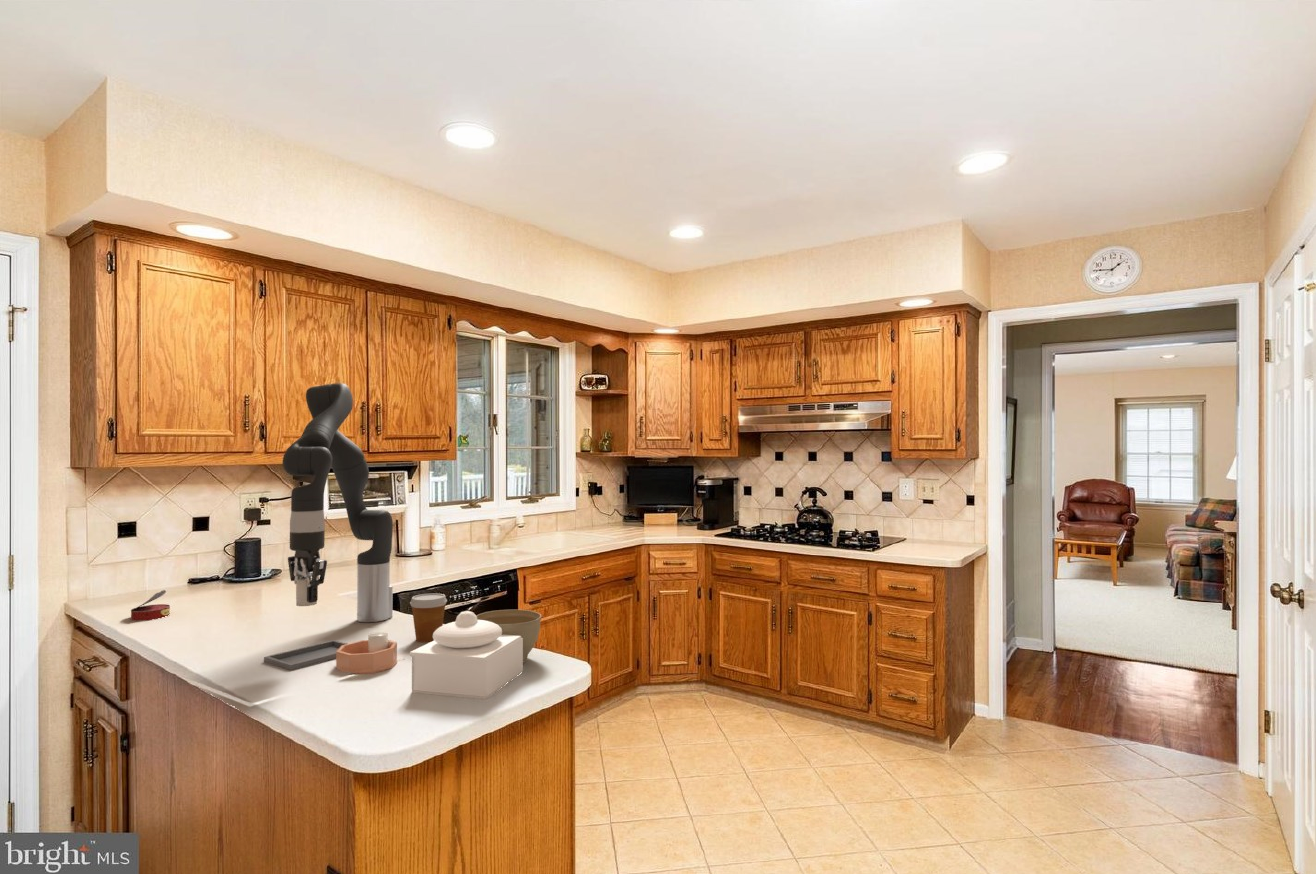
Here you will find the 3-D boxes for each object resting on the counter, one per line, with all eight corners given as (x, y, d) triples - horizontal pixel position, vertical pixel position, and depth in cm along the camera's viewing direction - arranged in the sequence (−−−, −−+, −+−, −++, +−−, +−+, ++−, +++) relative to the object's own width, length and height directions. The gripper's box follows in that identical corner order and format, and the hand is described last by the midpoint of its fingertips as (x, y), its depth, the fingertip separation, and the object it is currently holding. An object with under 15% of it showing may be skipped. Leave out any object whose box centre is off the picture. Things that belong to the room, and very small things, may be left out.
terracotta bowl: (375, 654, 176) (375, 636, 176) (408, 663, 169) (408, 644, 169) (325, 668, 165) (325, 649, 165) (358, 678, 158) (358, 658, 158)
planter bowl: (538, 670, 163) (538, 623, 163) (468, 672, 161) (468, 625, 162) (543, 650, 179) (543, 608, 179) (479, 652, 177) (479, 609, 178)
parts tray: (334, 646, 183) (334, 640, 183) (361, 654, 176) (361, 647, 176) (263, 664, 168) (263, 657, 168) (290, 673, 161) (290, 665, 162)
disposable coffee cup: (412, 648, 182) (412, 601, 182) (407, 639, 190) (407, 595, 190) (450, 643, 186) (450, 598, 186) (443, 635, 194) (443, 591, 195)
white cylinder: (380, 656, 172) (380, 631, 172) (391, 658, 170) (391, 633, 170) (364, 660, 168) (364, 635, 168) (375, 663, 166) (375, 638, 166)
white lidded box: (522, 673, 161) (522, 604, 161) (485, 701, 143) (485, 623, 144) (454, 668, 165) (454, 600, 165) (409, 694, 148) (409, 618, 148)
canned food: (147, 636, 213) (131, 610, 209) (131, 628, 218) (115, 603, 214) (184, 612, 222) (169, 587, 217) (168, 605, 227) (154, 581, 222)
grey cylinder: (310, 601, 171) (310, 577, 171) (320, 603, 168) (320, 578, 168) (292, 604, 167) (292, 579, 167) (302, 607, 165) (302, 581, 165)
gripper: (338, 529, 167) (338, 601, 167) (307, 526, 175) (306, 594, 175) (307, 532, 161) (306, 607, 160) (276, 529, 169) (275, 600, 169)
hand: (306, 600), depth 168 cm, fingers closed on grey cylinder, 4 cm apart
